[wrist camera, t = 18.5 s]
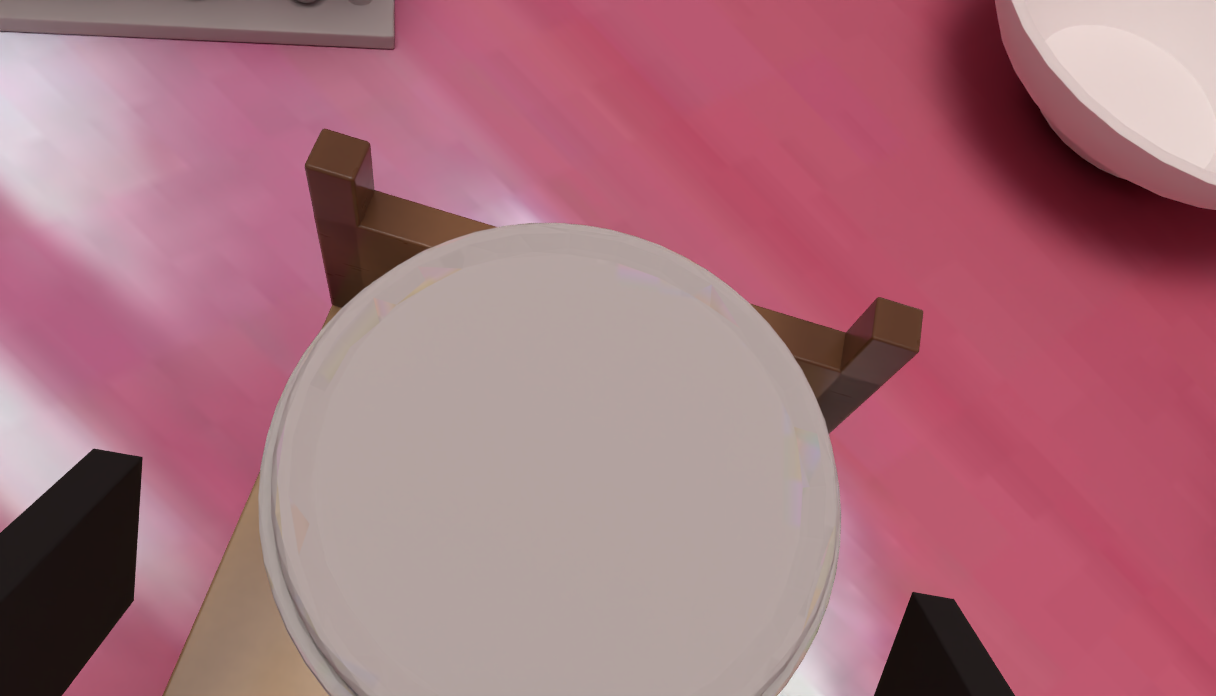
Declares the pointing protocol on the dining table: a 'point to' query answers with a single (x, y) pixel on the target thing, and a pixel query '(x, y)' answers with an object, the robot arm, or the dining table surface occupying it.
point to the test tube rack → (211, 20)
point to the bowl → (1124, 85)
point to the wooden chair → (353, 258)
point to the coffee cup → (549, 479)
